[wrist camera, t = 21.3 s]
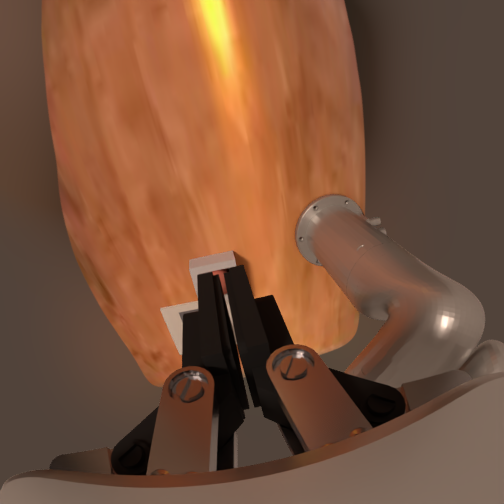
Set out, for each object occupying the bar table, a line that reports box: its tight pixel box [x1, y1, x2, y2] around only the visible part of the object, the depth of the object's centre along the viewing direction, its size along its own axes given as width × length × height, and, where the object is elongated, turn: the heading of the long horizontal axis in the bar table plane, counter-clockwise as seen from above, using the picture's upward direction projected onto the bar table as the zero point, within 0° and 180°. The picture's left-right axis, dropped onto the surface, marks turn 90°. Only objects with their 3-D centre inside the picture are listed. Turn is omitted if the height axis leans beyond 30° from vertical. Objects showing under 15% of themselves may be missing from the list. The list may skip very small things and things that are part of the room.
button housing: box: [189, 250, 236, 301], centre depth 45 cm, size 7×7×3 cm
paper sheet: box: [160, 300, 237, 355], centre depth 51 cm, size 14×12×1 cm
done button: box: [211, 269, 227, 294], centre depth 45 cm, size 4×4×3 cm
